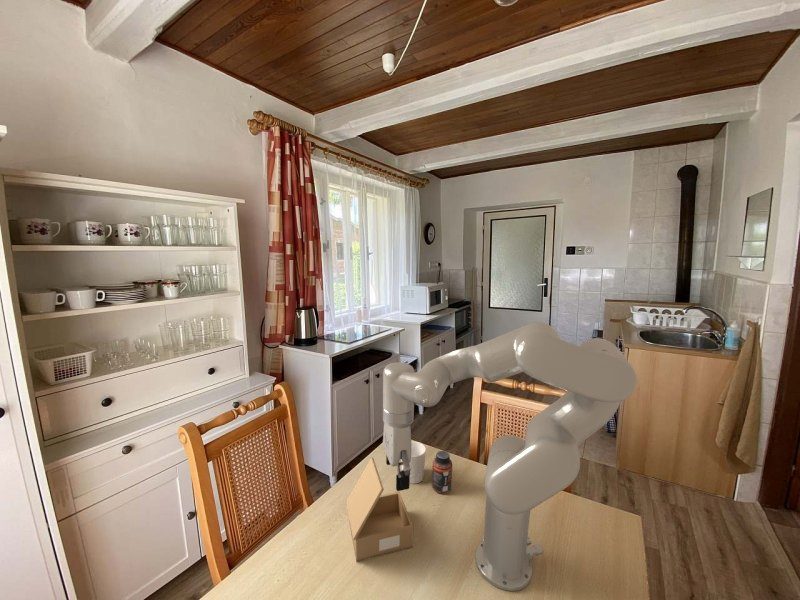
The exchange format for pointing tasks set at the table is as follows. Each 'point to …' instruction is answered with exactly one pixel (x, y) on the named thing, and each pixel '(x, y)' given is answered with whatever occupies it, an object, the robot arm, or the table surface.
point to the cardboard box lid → (364, 497)
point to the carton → (385, 529)
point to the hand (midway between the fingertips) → (397, 475)
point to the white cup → (417, 462)
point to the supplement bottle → (442, 472)
